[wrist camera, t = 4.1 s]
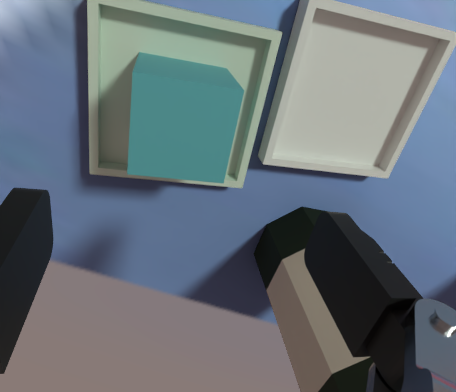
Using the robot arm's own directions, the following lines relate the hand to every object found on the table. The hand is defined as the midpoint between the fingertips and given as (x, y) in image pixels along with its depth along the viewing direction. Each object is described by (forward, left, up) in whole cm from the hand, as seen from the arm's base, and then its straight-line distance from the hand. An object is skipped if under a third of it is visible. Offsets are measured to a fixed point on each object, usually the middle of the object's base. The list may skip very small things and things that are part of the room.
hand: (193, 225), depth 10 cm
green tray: (0, 0, -13) cm, 13 cm away
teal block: (0, 0, -12) cm, 12 cm away
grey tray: (-11, -2, -13) cm, 17 cm away
